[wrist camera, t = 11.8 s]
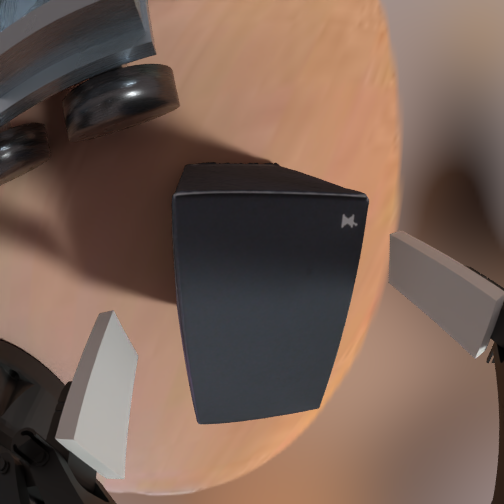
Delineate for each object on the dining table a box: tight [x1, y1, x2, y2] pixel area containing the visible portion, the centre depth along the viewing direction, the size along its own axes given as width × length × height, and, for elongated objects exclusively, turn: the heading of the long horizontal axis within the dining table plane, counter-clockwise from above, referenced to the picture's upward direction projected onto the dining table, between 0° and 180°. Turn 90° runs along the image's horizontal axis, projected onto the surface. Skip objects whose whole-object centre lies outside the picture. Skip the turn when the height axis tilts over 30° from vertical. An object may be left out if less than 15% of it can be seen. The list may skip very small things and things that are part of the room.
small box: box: [172, 162, 369, 424], centre depth 14 cm, size 11×6×10 cm, turn 179°
